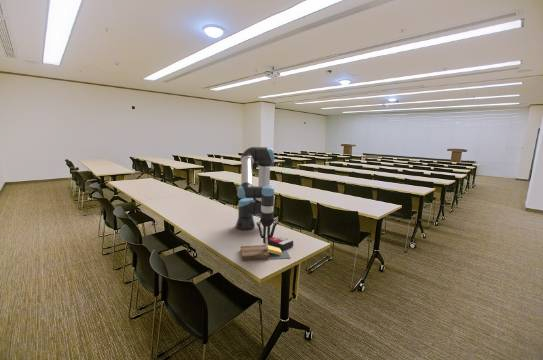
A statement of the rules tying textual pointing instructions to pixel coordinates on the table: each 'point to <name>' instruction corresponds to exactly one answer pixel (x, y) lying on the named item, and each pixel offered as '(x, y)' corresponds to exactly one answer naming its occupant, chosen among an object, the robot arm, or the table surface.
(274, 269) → the table surface
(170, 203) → the table surface
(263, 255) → the brown wooden slab
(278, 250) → the butter yellow block
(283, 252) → the mat
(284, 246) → the calculator
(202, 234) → the table surface
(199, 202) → the table surface
